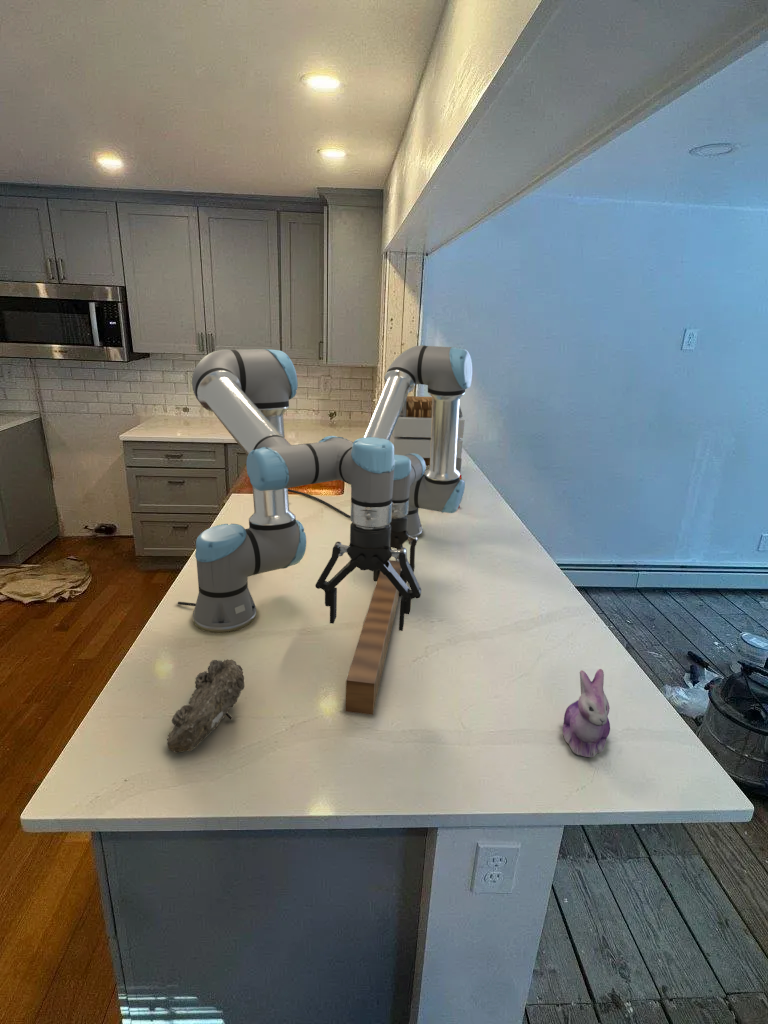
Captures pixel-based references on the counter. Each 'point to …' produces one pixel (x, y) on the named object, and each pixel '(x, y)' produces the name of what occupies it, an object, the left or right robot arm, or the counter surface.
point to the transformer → (420, 430)
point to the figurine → (588, 717)
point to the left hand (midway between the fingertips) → (367, 623)
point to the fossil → (206, 705)
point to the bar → (372, 647)
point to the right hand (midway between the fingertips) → (389, 592)
